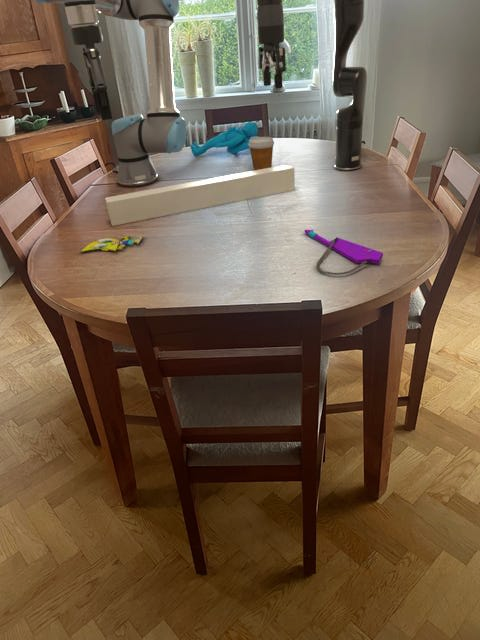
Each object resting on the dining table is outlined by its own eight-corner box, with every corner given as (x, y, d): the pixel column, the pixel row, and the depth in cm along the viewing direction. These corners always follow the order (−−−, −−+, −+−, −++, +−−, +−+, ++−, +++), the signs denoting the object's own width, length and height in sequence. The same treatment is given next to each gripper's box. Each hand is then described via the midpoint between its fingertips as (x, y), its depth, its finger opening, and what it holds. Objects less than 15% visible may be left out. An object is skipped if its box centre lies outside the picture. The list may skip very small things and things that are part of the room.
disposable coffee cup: (246, 176, 178) (244, 142, 172) (255, 168, 186) (253, 136, 179) (270, 177, 175) (269, 143, 168) (278, 169, 182) (277, 136, 176)
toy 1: (132, 249, 128) (79, 250, 130) (133, 252, 128) (80, 253, 130) (143, 234, 136) (94, 235, 138) (144, 236, 137) (94, 237, 139)
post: (112, 226, 146) (106, 202, 142) (110, 220, 150) (104, 197, 146) (294, 190, 161) (294, 167, 157) (288, 186, 165) (288, 164, 161)
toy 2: (196, 135, 215) (258, 116, 205) (204, 159, 220) (265, 140, 210) (184, 145, 202) (251, 124, 191) (193, 169, 207) (259, 151, 196)
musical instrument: (365, 286, 105) (394, 240, 117) (364, 278, 104) (394, 233, 116) (270, 272, 118) (305, 232, 130) (268, 265, 117) (304, 225, 129)
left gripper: (105, 24, 112) (124, 120, 124) (95, 24, 132) (112, 107, 144) (72, 27, 110) (95, 124, 122) (67, 27, 130) (86, 111, 142)
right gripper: (293, 22, 131) (294, 87, 140) (272, 22, 142) (274, 83, 151) (267, 25, 129) (270, 91, 138) (249, 25, 140) (252, 86, 149)
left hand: (104, 115), depth 133 cm, fingers open, 13 cm apart
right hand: (272, 86), depth 144 cm, fingers open, 8 cm apart
